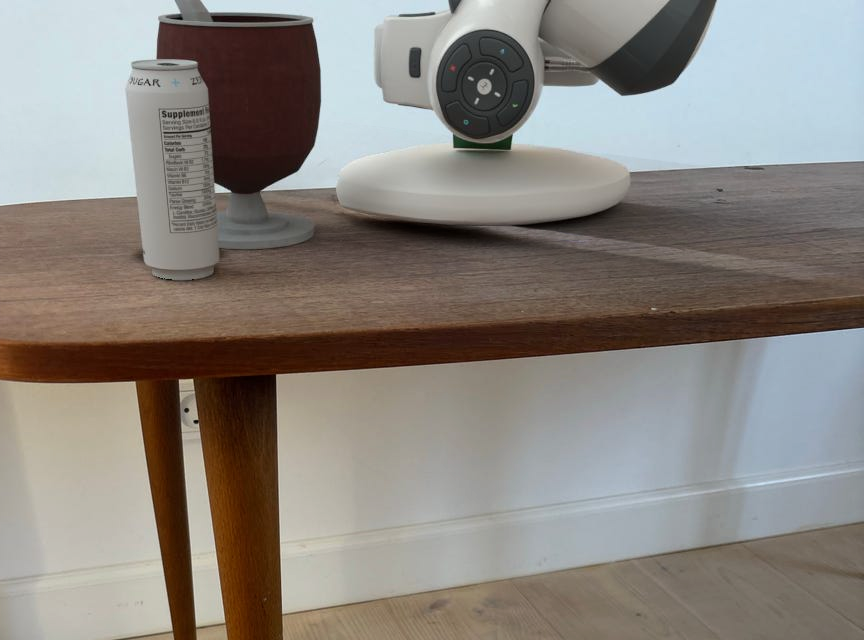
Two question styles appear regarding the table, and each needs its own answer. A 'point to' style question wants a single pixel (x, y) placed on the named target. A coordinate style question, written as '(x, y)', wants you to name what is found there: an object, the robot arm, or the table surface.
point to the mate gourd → (252, 109)
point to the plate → (481, 185)
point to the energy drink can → (173, 167)
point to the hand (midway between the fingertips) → (488, 48)
